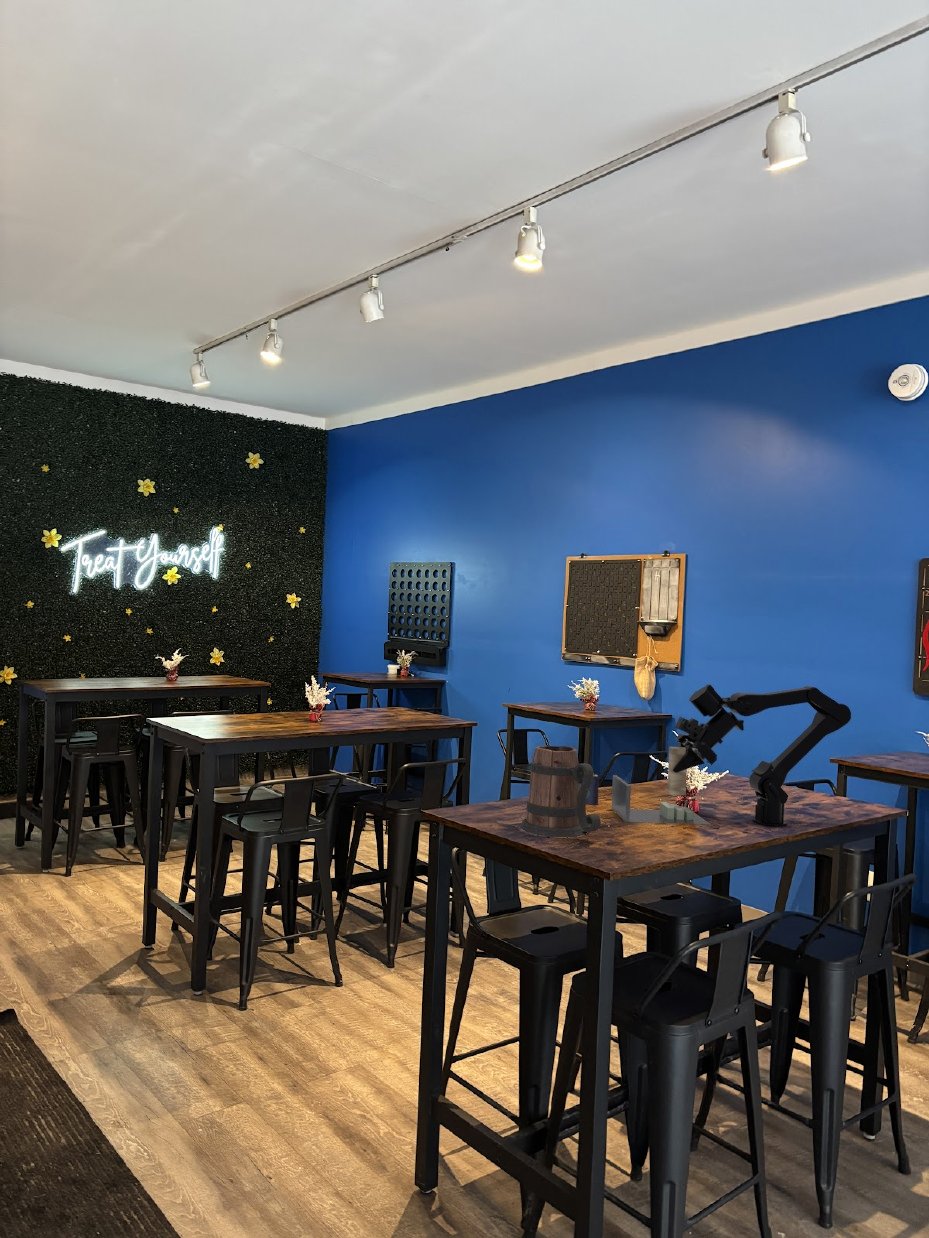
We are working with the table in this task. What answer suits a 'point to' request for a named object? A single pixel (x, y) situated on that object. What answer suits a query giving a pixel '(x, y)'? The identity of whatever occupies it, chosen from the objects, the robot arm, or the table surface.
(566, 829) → the tankard
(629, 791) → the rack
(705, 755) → the robot arm
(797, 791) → the table surface
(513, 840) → the table surface
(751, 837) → the table surface
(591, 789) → the flask
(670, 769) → the birch block
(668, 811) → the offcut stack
